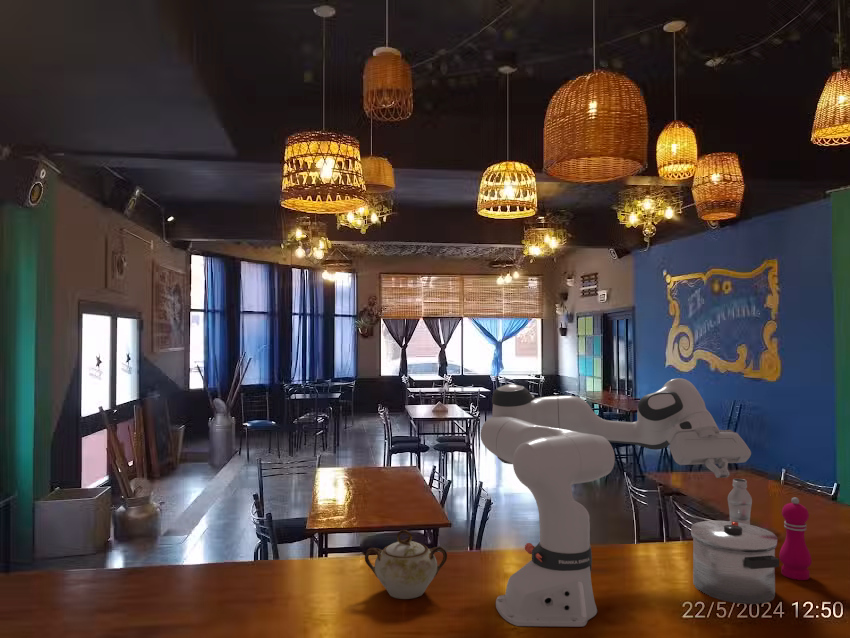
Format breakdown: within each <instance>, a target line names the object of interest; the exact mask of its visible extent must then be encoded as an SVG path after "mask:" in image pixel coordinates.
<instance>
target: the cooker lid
mask: <svg viewBox="0 0 850 638" xmlns="http://www.w3.org/2000/svg"><path fill="white" fill-rule="evenodd" d="M690 535H691V537H692V539H693V538H694V539H696V540H697V541H699V542H701V543H704V544H706V545H709V546H713V547H716V548H720V549H725V550H731V551H739V552H765V551H770V550H773V549H775V550H776V548H777V547H778V537H777V535H776V534H775V533H774V532H772V531H770V530H768V529H766V528H764V527H763V528H762V527H760V526H756V525H752V524H750V525H749V524H744V523H738V522H731V521H730V520H704V521H697V522H696V523H694V524H693V523H692V525H691V527H690Z"/></svg>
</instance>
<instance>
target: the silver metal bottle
mask: <svg viewBox="0 0 850 638" xmlns="http://www.w3.org/2000/svg"><path fill="white" fill-rule="evenodd" d="M732 487H733V488H732V489H731V491H730V492H729V493H728V495H727V505H728V512H729V521H731V522H738V523H744V524H749V525H751V511H752V505H753V504H752V503H753V499H752V498H753V497H752V496H751V494H750V493H749V491H748V490H747V488H748V482H747V480H746V479H742V478H733V479H732Z"/></svg>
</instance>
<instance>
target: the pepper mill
mask: <svg viewBox="0 0 850 638" xmlns="http://www.w3.org/2000/svg"><path fill="white" fill-rule="evenodd" d="M809 514H810V513H809V511H808V508H807V507H806V506H804V505H803V504H801V503H800V499H799V497H791V502H789V503H786V504H784V506H783V507H782V509H781V515H782V517H783V519H784V522H783V523H784V525H783V526H784V528H785V530H786V533H785V539H784V542H783V543H782V546H781V548H780V551H779V554H778V555H779V556H778V557H779V558H778V559H779V562H781V563H782V564H783V565H781V570H780V571H781V575H783V576H784V577H785V578H787V579H791V580H796V579H797V580H796V581H806V580H807V581H808V580H809V579H810V570H809V569H808V568H809V567H811V565H812V561H813V560H812V555H811V553H810V550H809V549H808V546H807V544H806V540H805V531H807V523H806V522H807V521H808V520H809V517H810V515H809Z"/></svg>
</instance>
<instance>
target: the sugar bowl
mask: <svg viewBox="0 0 850 638" xmlns="http://www.w3.org/2000/svg"><path fill="white" fill-rule="evenodd" d="M402 534H405V535H407V537H408V538H406V539H402V538H401V535H402ZM396 538H397V541H396V542H393V543H391V544H389V545H386V546H385V547H384V548H383V549H381V548H378V547H370V548H368V549H367V550H366V552H365V553H364V560H365V561H364V562H365V563H366V565H367V566H368V568H370V569H371V571H372V573H373V574H374V576H375V577H376V578H377V579H378V580H379V582H380V584H381V585H382V586H383V587H384V589H385V590H386V591H387V593H388V594H389V596H390V597H391V598H394V599H400V600H410V599H417V598H419V597H421V596H422V595H424V593H425V591H426V590H427V588H428V587H429V585H430V584H431V582H432V581H433V579H434V578H436V576H437V575H438V573H439V572H440V570H441V569H442V567H443V566H444V564H445V563H446V561H447V559H448V553H447V551H446V549H445V548H444V547H442V546H435V547H432V548H428V546H427V545H425V544H423V543H421V542H418V541H412V539H413V534H412V533H411V532H410V531H409V530H407V529H400V530H399V532H398V533H397V535H396ZM436 552H441V553H442V556H443V557H442V560H441V562H440V563H439V564H438V561H437V559H436V556H435V553H436ZM371 554H375V555H376V556H377V557H376V558H375V561H374V565H373V563H371V561H370V559H369V555H371Z"/></svg>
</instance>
